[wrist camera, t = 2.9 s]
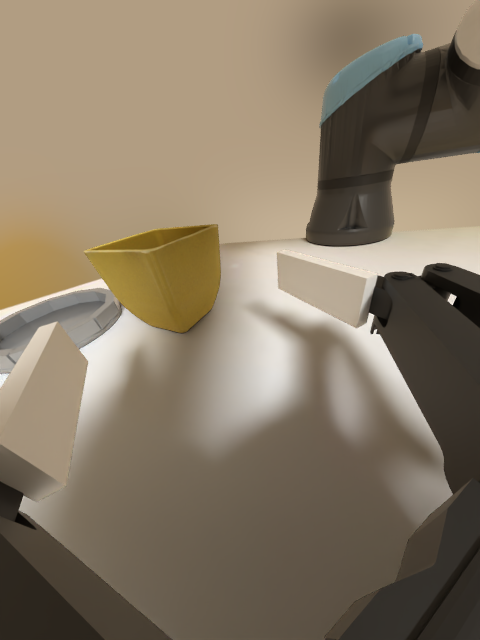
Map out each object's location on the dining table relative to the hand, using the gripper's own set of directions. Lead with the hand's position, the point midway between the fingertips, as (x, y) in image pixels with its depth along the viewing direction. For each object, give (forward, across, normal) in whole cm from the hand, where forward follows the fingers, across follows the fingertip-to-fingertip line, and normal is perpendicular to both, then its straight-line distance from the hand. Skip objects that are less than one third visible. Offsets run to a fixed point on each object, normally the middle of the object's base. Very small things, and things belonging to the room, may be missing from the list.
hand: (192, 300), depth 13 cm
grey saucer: (+18, -13, -6) cm, 23 cm away
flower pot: (+10, 0, -6) cm, 12 cm away
